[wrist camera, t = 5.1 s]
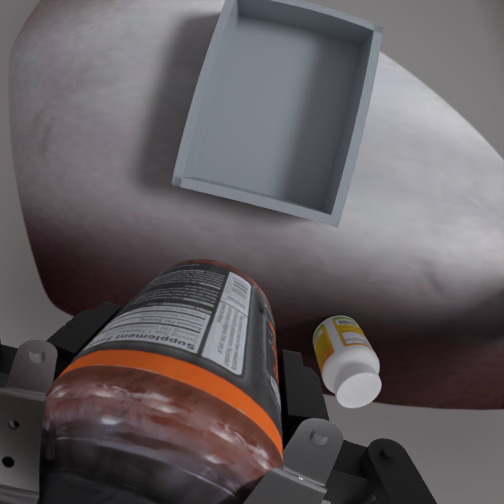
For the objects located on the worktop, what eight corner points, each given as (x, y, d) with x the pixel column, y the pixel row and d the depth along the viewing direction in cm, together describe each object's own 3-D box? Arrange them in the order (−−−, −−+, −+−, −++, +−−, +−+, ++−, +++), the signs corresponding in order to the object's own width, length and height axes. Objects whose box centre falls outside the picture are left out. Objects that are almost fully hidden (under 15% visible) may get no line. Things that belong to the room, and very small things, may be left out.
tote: (366, 46, 24) (383, 27, 19) (325, 218, 29) (337, 227, 24) (235, 12, 24) (230, -13, 19) (185, 182, 28) (170, 185, 24)
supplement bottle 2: (324, 364, 33) (341, 423, 23) (303, 329, 32) (317, 385, 22) (366, 342, 32) (396, 395, 23) (349, 305, 31) (379, 354, 22)
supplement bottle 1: (265, 380, 14) (260, 612, 3) (146, 361, 14) (42, 555, 3) (284, 263, 13) (342, 563, 2) (144, 245, 13) (-79, 417, 2)
